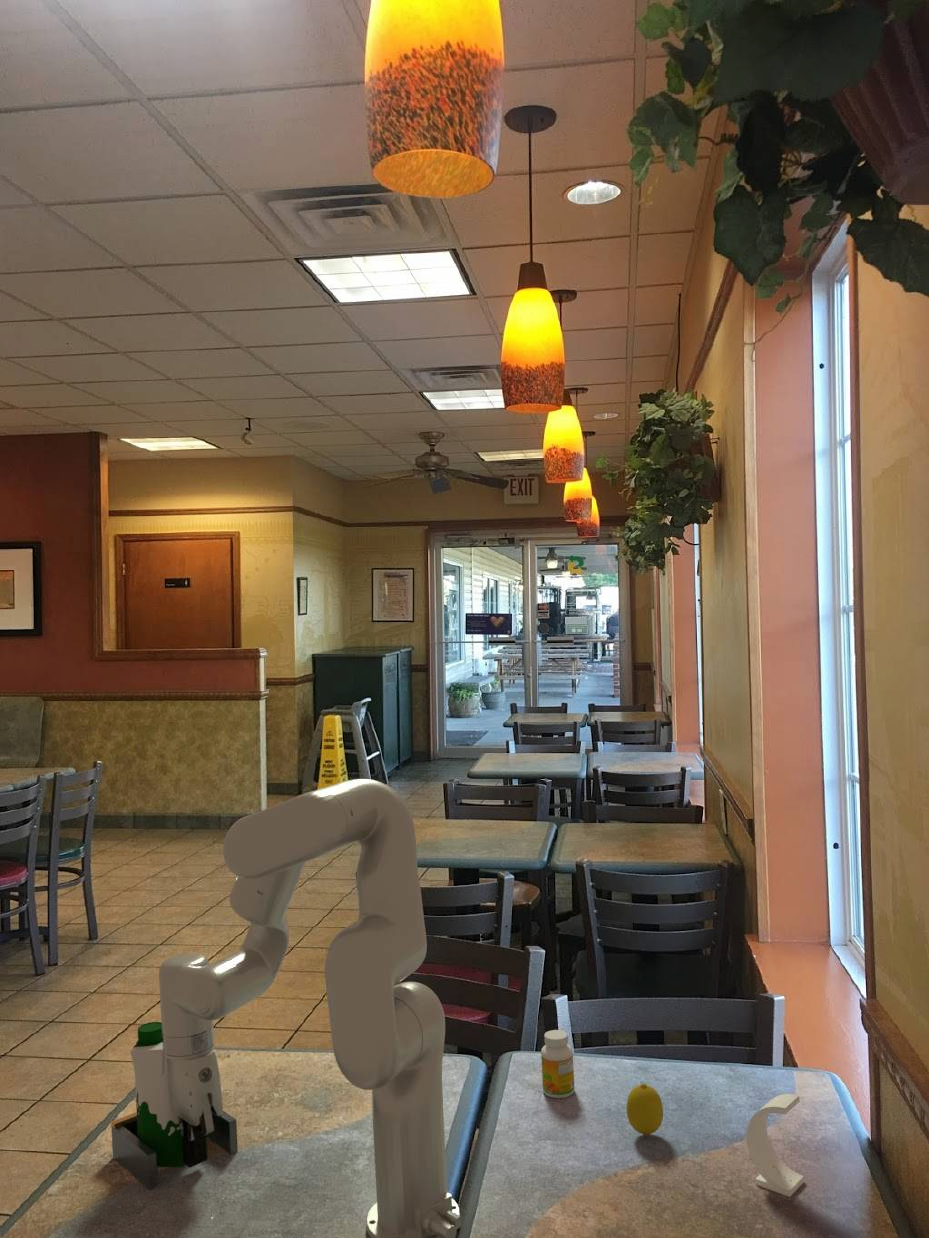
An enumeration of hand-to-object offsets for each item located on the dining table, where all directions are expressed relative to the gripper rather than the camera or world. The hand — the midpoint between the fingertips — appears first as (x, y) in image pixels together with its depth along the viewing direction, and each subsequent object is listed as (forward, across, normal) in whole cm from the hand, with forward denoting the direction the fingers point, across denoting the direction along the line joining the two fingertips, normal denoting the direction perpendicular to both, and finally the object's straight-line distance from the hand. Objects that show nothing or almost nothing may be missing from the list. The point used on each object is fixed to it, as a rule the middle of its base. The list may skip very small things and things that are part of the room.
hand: (195, 1161), depth 149 cm
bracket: (+1, +6, 0) cm, 6 cm away
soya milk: (+1, +7, +1) cm, 7 cm away
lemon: (+2, -44, -53) cm, 69 cm away
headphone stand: (+3, -65, -55) cm, 85 cm away
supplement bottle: (+2, -24, -55) cm, 60 cm away
